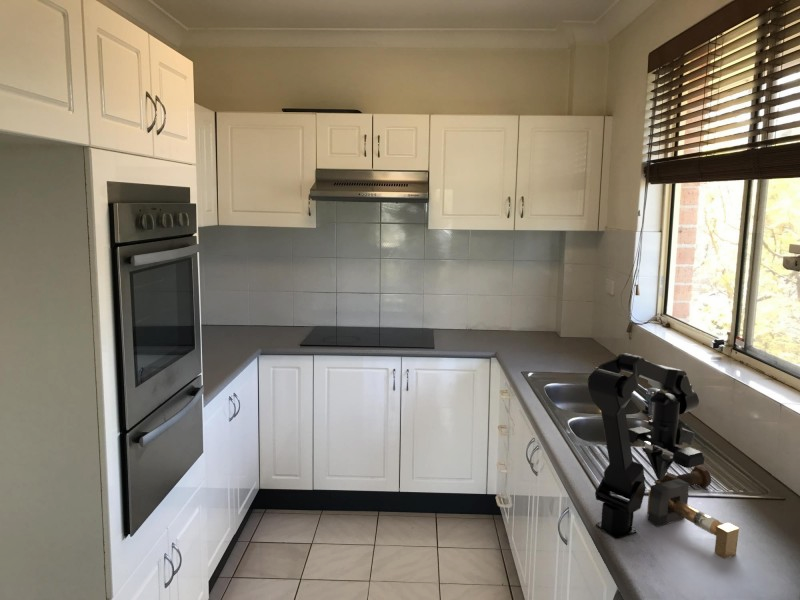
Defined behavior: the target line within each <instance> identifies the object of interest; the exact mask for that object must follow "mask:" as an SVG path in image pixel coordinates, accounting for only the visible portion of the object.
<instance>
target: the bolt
mask: <svg viewBox="0 0 800 600" xmlns="http://www.w3.org/2000/svg"><path fill="white" fill-rule="evenodd" d="M675 479H681V480H683V481H685V482H687V483H689V487H692V486H698V487H700V488H702V489H707V488H708V487H709V486H710V485H711V483H712V477H711V474H710V472H709V470H708V469H707V468H706V467H703V466H702V465H698V466H694V467H693V469H692V470H691V471H690V472H687V473H683V474H678V475H676V474H673V473H671V472H669V473H666V474H665V476H664V478H663V479H662V480H659V479H656V480H655V481H654V482H653V483H654V485H656V484H660V483H663V482H667V481H671V480H675Z"/></svg>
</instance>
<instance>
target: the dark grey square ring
mask: <svg viewBox="0 0 800 600" xmlns="http://www.w3.org/2000/svg"><path fill="white" fill-rule="evenodd" d="M649 490H650V499H649V511H648V514H647V521H648V522H650V523H652V524H653V525H655V526H656V527H661V526H664V525H668V524H671V523H675V522H678V521H681V520H684V519H685V518H683V517H681V516H679V515H678V514H676V513H674V512H672V511H670V510H669V509H668V502H669V499H670V498H675V499H677V500H679V501H681V502H683V503H685V504H687V505H688V500H689V491H690V486H689V483H687V482H685V481H683V480H681V479H675V480H671V481H667V482H663V483H660V484H656V485H655V484H652V485H650V488H649Z"/></svg>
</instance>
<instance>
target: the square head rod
mask: <svg viewBox="0 0 800 600" xmlns="http://www.w3.org/2000/svg"><path fill="white" fill-rule="evenodd" d="M649 499H650V489H649V490H648V499H647V509H646V514H647V515H648V511H649ZM668 509H669V510H670V511H672V512H674V513H676V514H678V515H679V516H681V517H683V518H684V519H685V520H687V521H689V522H691V523H692V524H694V525H695V526H696V527H698V528H700V529H702V530H704V531H705V532H707V533H709V534H711V535H714V536H715V546H714V554H716V555H717V556H719V557H721V558H722V559H724V560H726V559H729V558H731V557H733V556H736V555H737V549H738V541H739V533H740V532H739V531H740V528H739V527H738V526H735V524H734V525H733V524H732V523H730V522H726V523H723V522H722V521H719V520H718V519H717V518H715V517H713V516H711V515H709V514H707V513H705V512H704V511H700V510H698V509H696V508H694V507H693V506H690V505H689V504H688V503H687V504H685V503H683V502H681V501H679V500H677V499H675V498H670V499H669V502H668Z"/></svg>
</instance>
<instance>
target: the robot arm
mask: <svg viewBox="0 0 800 600" xmlns="http://www.w3.org/2000/svg"><path fill="white" fill-rule="evenodd" d="M621 372H624V373H629V374H630V375H629V376H627V375H625V374H621ZM639 378H642V379H644V380H647V384H648V385H650V386H651V387H652V388H653V389H657V390H661V391H665V392H660V391H656V393H655V394H654V395H652V396H651V398H650V399H649V400H650V402H651V403H653V407H652V408H653V409H652V419H650V420H648V424H647V425H648V426H650V427H651V430H650V429H648V428H646V427H644V426H637V427H632V428H629V427H628V426H629V425H628V418H627V412H626V407H627V405H628V403H629V402H630V400H631V399H632V394H634V392H635V391H636V390H637V388H639ZM587 388H588V392H589V395H590V399H591V401H592V402H593V403H594V404H595V405H596V407H597V408H598V409H599V410H600V412H601V413H600V414H601V420H602V424H603V425H602V426H603V431H604V432H603V433H604V437H605V443H606V449H607V451H606V452H607V455H608V456H607V457H608V463H609V464H608V465H607V467H606V468H605V470H604V471H603V477H602V479H601V481H600V483H599V485H598V487H597V489H596V490H595V492H594V496H595V499H596V501H600V502H601V503H602V508H601V521H599V522H596V523H595V526H596V527H597V528H599V529H600V530H602V531H603V532H605V533H607V534H608V535H609V536H611V537H612V536H613V537H612V538H614V539H616V540H617V539H618V540H619V539H621V538H625V537H629V536H631V535H634V534H637V532H638V530H637V529H636V528H634V527H633V523H634V522H633V521H634V512H636V511H638V510H640V509H641V507H642V503H643V501H644V496H645V491H646V482H645V480H646V477H645V472H644V471H645V468H644V465H643V464H641V463H639V462H637V461H634V460H633V454H632V447H631V443H632V444H636V443H637V442H639V441H638V440H640V441H642V442H643V443H644V447H643V448H642V452H644V453H645V455H646V457H647V459H648V461H649V463H650V465H651V467H652V470H653V472H654V475H655V478H656V480H658V479H659V480H662V479H663V478H664V476H665V475H666V474H667V472H668V470H669V468H671V465H672V464H673V463H675V464H676V465H679V466H680V467H682V468H687V469H690V468H694V467H695V466H702V465H704V463H705V455H704V453H703V452H702V451H700V450H698V449H696V448H693V447H691V445H692V443H693V441H694V437H695V432H694V431H691V430H688V429H686V428H684V427H683V424H682V423H680V422H679V418H680V415H683V414H685V413H687V412H690V411H693V410H695V409H696V408H698V406H699V402H700V398H699V396H698V394H697V393H696V391H694V390H693V385H692V384H691V383H690V381H689V377H688V376H687V372H686V371H685V370H683V369H679V368H675V367H670V366H666V365H662V364H656V363H654V362H651V361H649V360H647V359H645V358H644V357H642V356H639V355H635V354H630V353H625V352H624V353H620V354H618V355H617V357H615V358H613V359H611V360H608V361H606V362H604V363H601V364H600V365H599V366H598V367H596V369H594V370H593V371H592V372H591V373H590V375H589V376H588V379H587ZM683 443H684V444H687V445H689V446H687V447H683V448H682V447H680V446H682V445H683ZM677 445H678V446H677Z"/></svg>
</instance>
